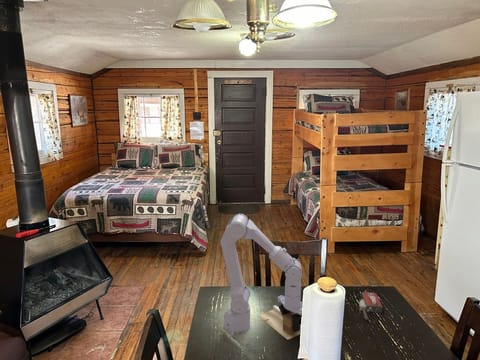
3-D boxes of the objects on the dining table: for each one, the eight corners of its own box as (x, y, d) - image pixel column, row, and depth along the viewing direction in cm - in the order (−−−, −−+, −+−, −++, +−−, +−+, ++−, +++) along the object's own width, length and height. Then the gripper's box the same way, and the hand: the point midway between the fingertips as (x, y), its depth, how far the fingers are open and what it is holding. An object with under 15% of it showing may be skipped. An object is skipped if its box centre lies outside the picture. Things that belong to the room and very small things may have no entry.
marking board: (287, 343, 126) (287, 335, 126) (257, 318, 141) (257, 311, 140) (306, 334, 131) (306, 327, 130) (275, 311, 146) (275, 304, 145)
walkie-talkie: (355, 296, 159) (363, 322, 139) (356, 287, 158) (364, 312, 138) (376, 297, 157) (387, 324, 138) (376, 288, 156) (388, 314, 137)
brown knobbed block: (286, 336, 128) (287, 321, 126) (279, 330, 131) (280, 316, 130) (303, 329, 132) (303, 314, 131) (295, 323, 135) (296, 309, 134)
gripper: (315, 299, 125) (313, 333, 127) (287, 282, 137) (287, 314, 139) (300, 305, 121) (298, 340, 124) (273, 287, 133) (272, 320, 136)
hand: (291, 327), depth 131 cm, fingers open, 5 cm apart
